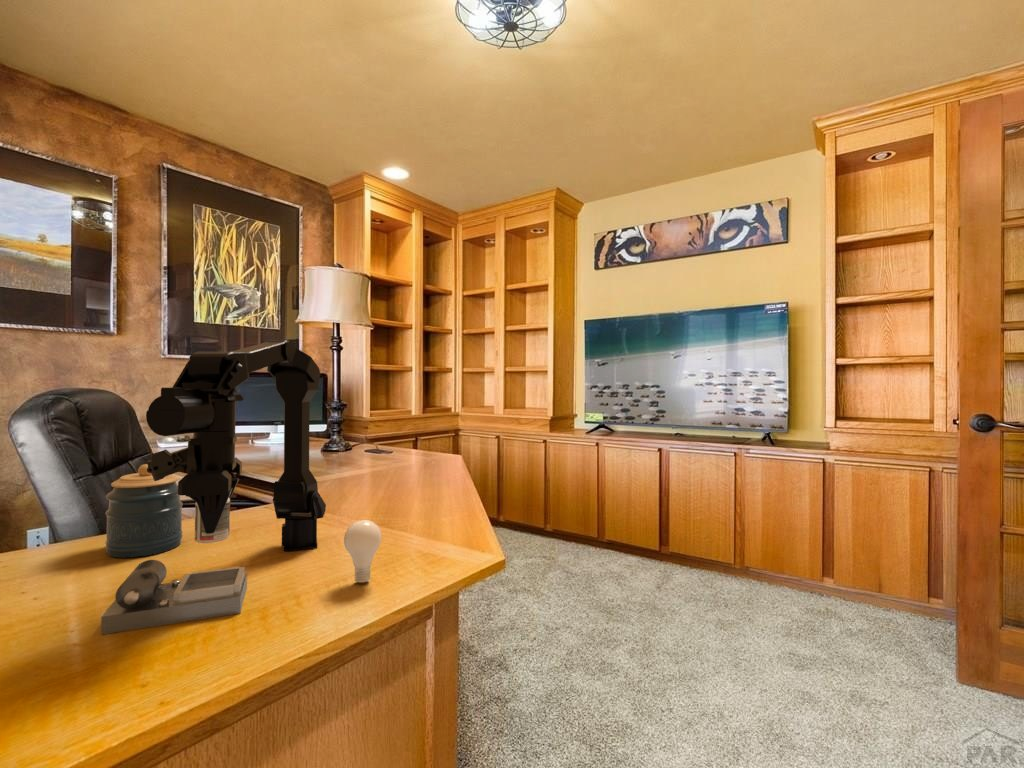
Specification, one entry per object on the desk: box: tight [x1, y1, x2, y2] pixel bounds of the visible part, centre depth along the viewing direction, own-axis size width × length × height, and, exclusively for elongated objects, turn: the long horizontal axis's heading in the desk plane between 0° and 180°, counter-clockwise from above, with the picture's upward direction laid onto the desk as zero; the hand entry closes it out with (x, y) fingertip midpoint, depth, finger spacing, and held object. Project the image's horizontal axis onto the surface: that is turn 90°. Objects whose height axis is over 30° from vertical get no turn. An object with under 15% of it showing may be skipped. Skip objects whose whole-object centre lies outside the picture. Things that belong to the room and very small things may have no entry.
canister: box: [104, 463, 184, 559], centre depth 103 cm, size 13×13×18 cm
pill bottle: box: [194, 498, 231, 544], centre depth 78 cm, size 5×5×8 cm
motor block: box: [100, 559, 248, 636], centre depth 76 cm, size 17×11×7 cm, turn 113°
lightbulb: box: [343, 519, 382, 584], centre depth 87 cm, size 6×6×11 cm
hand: (212, 528), depth 78 cm, fingers closed on pill bottle, 5 cm apart
